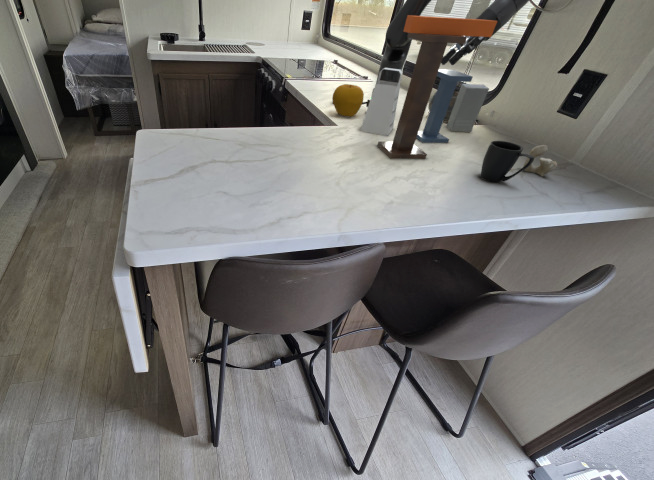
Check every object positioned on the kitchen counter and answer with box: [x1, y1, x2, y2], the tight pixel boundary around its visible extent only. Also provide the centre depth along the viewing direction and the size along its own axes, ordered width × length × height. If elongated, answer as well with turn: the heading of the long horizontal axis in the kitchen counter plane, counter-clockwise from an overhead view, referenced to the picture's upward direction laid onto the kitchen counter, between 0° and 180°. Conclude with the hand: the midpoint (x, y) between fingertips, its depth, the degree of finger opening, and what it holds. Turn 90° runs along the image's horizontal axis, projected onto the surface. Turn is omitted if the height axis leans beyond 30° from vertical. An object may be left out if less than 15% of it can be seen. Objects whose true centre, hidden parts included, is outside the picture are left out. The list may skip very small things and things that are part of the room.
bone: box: [522, 144, 558, 178], centre depth 104 cm, size 9×6×10 cm
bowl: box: [427, 90, 459, 121], centre depth 147 cm, size 14×15×10 cm
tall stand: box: [377, 33, 467, 160], centre depth 105 cm, size 12×12×32 cm
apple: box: [331, 83, 365, 118], centre depth 143 cm, size 13×13×11 cm
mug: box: [479, 140, 535, 183], centre depth 98 cm, size 8×12×10 cm
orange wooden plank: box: [404, 15, 497, 38], centre depth 93 cm, size 24×4×4 cm, turn 97°
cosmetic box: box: [446, 83, 490, 133], centre depth 134 cm, size 8×7×16 cm
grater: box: [359, 68, 403, 137], centre depth 127 cm, size 10×10×20 cm
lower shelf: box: [416, 68, 474, 144], centre depth 122 cm, size 10×12×21 cm
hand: (445, 63), depth 115 cm, fingers open, 8 cm apart
